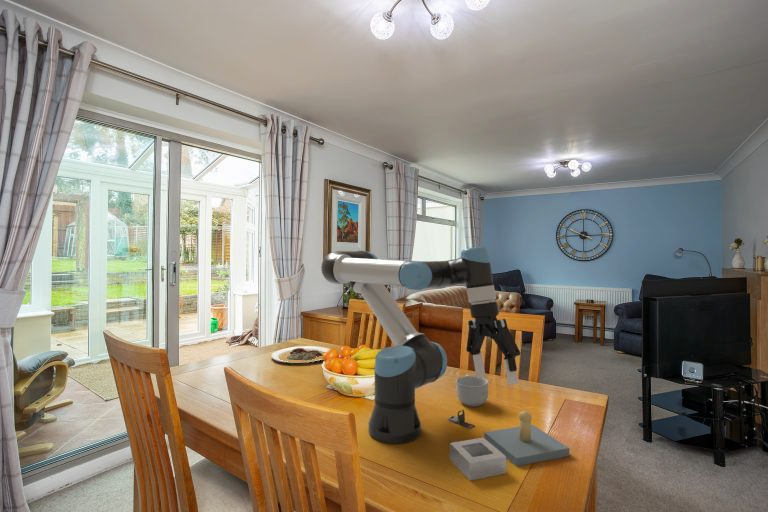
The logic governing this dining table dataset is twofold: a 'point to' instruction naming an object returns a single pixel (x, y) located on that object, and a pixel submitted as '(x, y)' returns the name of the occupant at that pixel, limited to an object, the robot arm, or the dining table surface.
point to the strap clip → (460, 420)
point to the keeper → (526, 443)
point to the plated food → (300, 353)
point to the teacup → (472, 390)
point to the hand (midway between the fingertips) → (496, 380)
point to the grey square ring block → (477, 458)
